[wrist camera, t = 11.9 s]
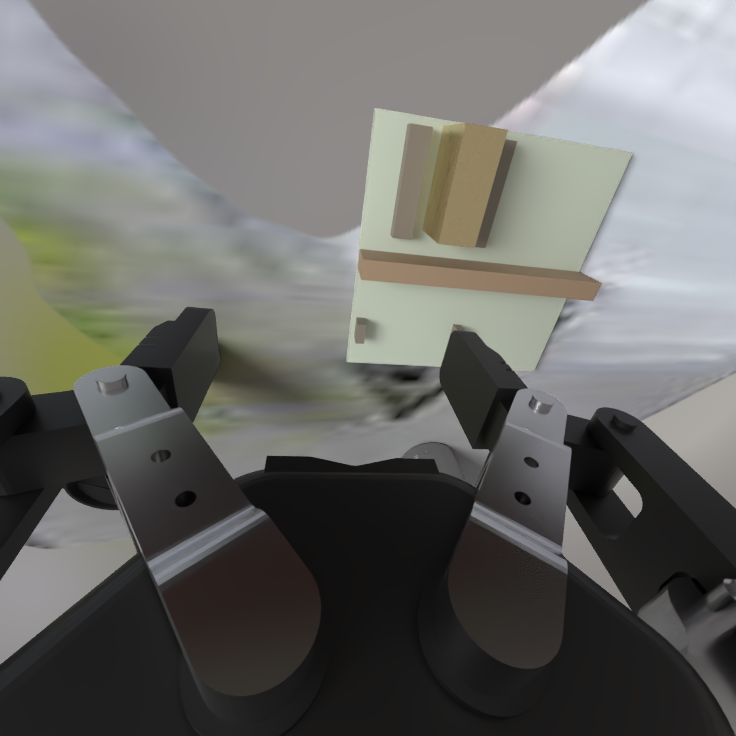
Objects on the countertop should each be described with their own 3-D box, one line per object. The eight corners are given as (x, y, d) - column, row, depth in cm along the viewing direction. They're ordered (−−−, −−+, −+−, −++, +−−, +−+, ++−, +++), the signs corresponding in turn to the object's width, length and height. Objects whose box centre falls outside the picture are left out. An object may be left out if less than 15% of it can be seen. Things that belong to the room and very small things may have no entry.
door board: (625, 152, 35) (666, 153, 31) (530, 367, 49) (549, 388, 45) (374, 108, 31) (382, 103, 27) (346, 357, 45) (349, 379, 41)
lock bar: (453, 233, 37) (474, 248, 32) (422, 230, 36) (438, 244, 31) (478, 132, 32) (508, 130, 27) (443, 125, 32) (465, 122, 27)
